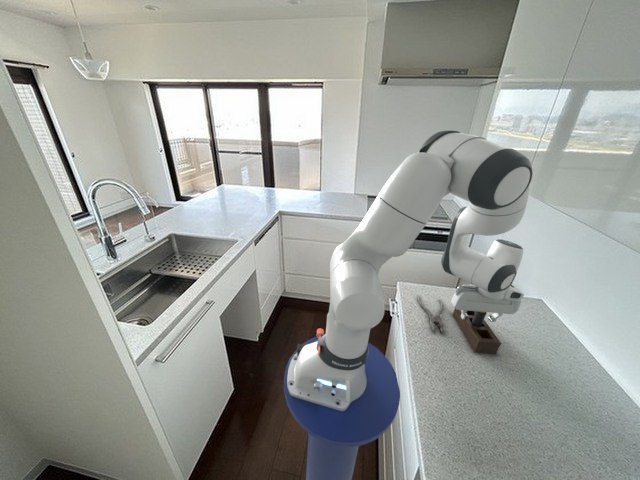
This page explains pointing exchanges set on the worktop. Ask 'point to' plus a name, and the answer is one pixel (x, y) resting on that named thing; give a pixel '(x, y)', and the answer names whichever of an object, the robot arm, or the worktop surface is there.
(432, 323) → the pliers
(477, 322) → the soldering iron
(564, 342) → the worktop surface
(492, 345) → the holder
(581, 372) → the worktop surface
